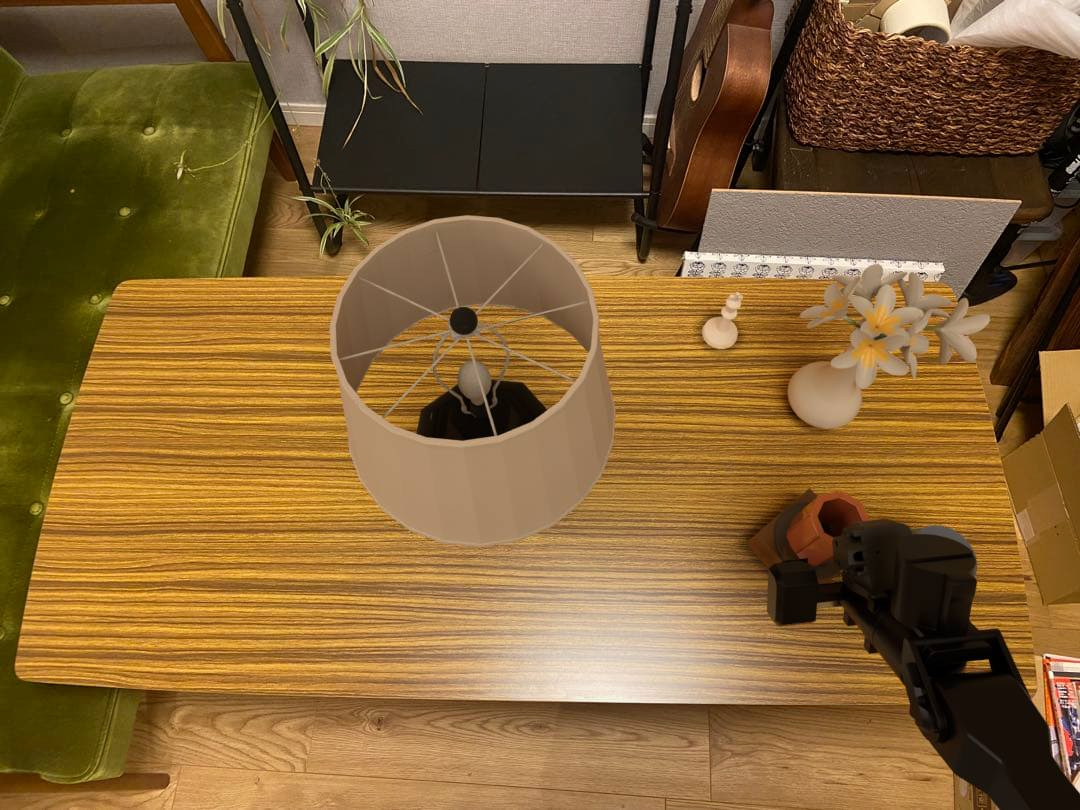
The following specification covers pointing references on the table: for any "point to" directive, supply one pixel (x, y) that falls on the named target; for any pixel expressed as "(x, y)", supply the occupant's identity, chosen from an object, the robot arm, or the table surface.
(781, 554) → the coaster stand
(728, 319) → the chess piece
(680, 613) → the table surface
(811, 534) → the terracotta octagonal pot
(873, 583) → the robot arm
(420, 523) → the table lamp
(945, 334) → the flower vase
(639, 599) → the table surface
